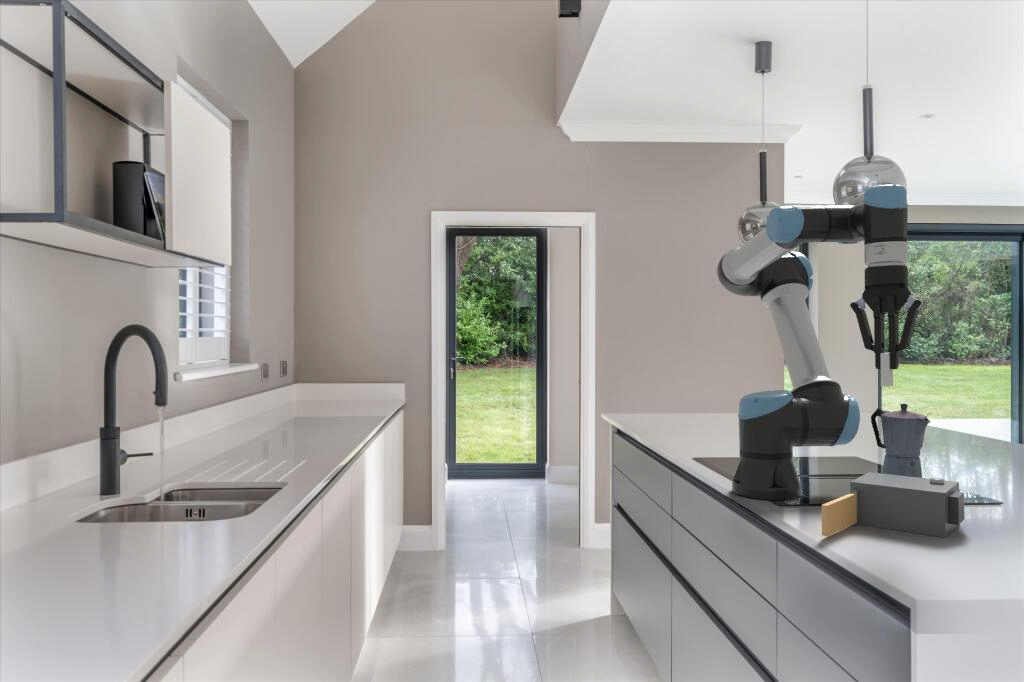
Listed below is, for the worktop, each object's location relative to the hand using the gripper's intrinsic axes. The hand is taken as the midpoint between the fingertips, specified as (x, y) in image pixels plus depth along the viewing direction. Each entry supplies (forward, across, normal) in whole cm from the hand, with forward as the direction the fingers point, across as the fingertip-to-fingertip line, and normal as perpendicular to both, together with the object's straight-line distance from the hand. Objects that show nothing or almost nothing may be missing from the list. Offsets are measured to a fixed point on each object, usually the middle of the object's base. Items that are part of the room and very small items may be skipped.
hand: (887, 386), depth 140 cm
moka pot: (+27, -6, +32) cm, 42 cm away
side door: (+26, -4, -14) cm, 30 cm away
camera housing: (+26, +3, -1) cm, 27 cm away
